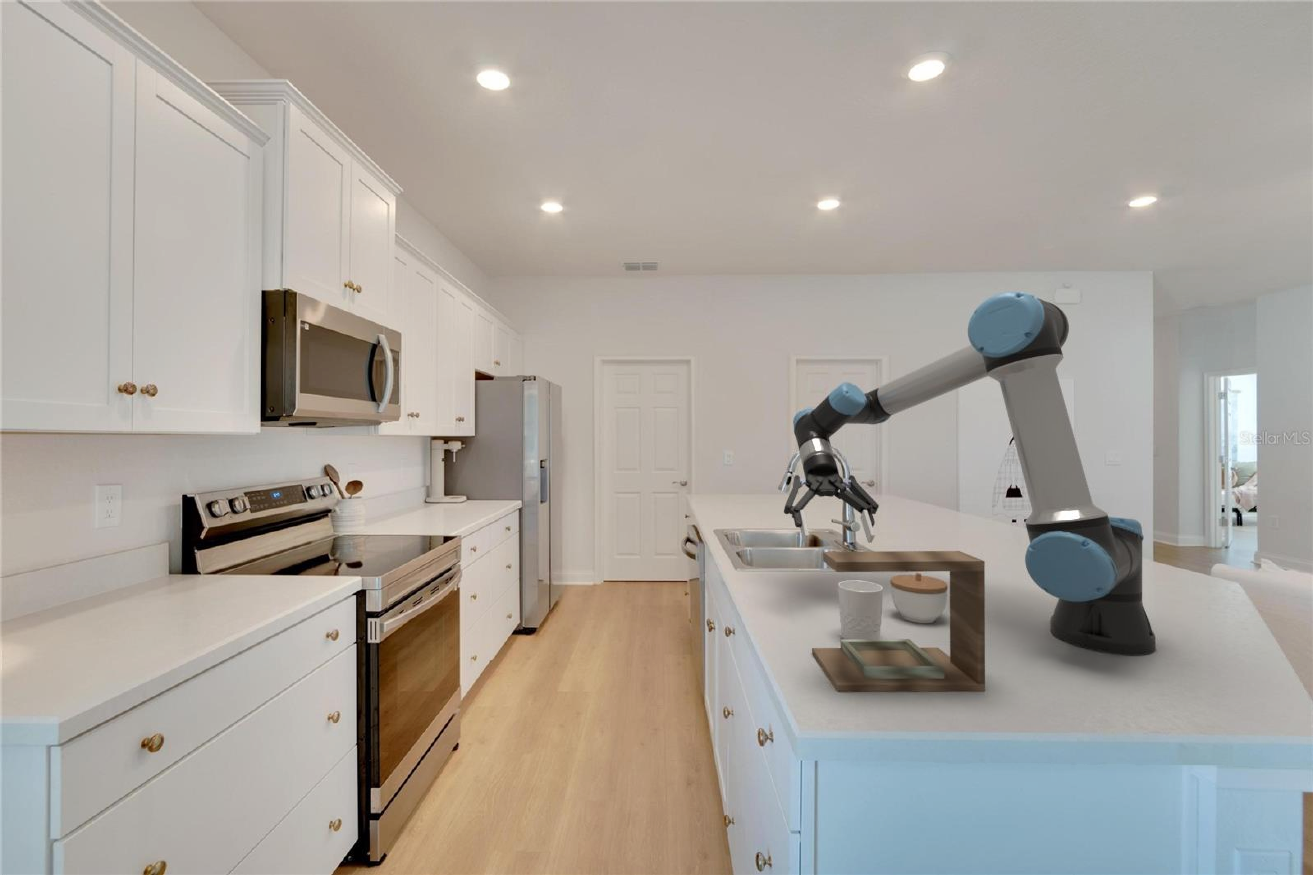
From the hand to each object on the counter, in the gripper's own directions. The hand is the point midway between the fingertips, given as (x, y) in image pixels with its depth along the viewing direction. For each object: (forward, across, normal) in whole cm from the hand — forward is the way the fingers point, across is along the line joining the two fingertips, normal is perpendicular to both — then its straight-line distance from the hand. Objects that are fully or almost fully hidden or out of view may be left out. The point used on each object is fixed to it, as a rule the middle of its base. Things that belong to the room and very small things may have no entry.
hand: (838, 539), depth 114 cm
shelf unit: (+30, 0, +7) cm, 30 cm away
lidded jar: (+12, -16, -11) cm, 23 cm away
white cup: (+20, 0, -4) cm, 20 cm away
